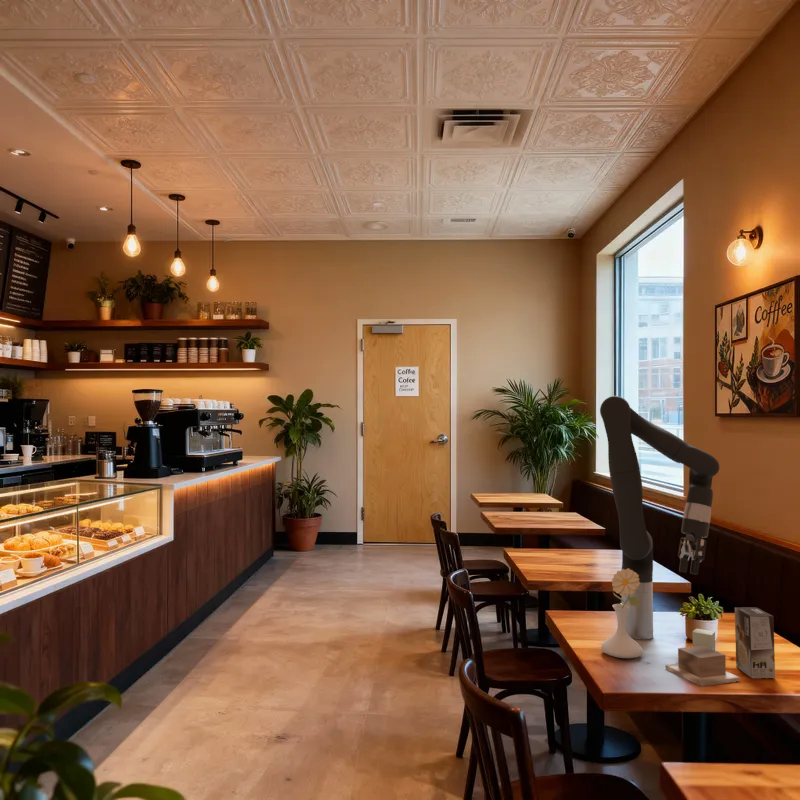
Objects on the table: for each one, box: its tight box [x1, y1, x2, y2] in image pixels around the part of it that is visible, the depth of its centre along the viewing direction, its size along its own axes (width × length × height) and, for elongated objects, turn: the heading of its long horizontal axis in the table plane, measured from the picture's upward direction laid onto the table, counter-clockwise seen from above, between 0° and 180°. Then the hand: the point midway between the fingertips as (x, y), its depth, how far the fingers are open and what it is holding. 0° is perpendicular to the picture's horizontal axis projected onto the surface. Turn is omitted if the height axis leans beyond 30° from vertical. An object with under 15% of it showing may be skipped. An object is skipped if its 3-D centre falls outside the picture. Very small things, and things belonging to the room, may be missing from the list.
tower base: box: [665, 645, 741, 687], centre depth 173 cm, size 13×12×6 cm
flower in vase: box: [600, 568, 644, 659], centre depth 188 cm, size 13×11×25 cm
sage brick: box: [691, 628, 716, 651], centre depth 184 cm, size 5×4×8 cm
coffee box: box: [734, 606, 776, 680], centre depth 175 cm, size 9×6×16 cm
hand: (688, 573), depth 198 cm, fingers open, 8 cm apart
